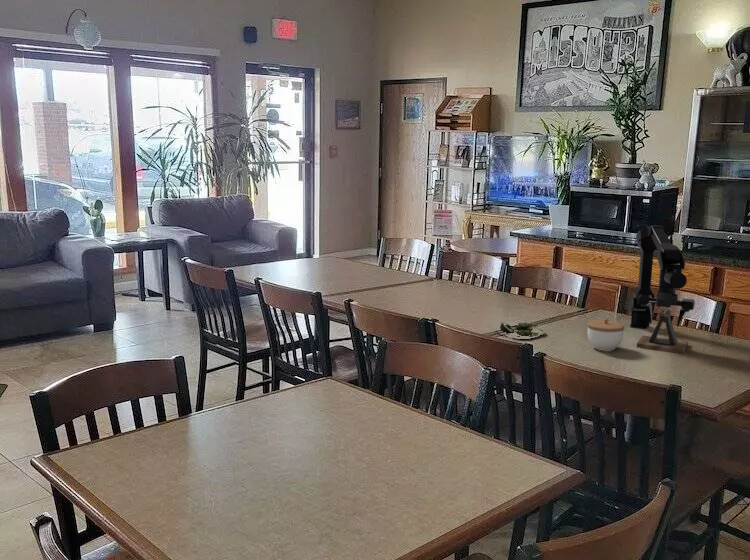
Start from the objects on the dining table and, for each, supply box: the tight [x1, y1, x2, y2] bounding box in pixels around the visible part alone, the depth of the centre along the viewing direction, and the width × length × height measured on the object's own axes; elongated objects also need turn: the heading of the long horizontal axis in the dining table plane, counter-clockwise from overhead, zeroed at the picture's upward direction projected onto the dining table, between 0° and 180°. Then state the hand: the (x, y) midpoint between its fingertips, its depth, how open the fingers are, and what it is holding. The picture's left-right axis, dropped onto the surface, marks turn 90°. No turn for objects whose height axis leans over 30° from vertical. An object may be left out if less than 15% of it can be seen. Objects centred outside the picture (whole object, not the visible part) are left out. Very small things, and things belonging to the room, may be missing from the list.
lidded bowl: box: [587, 318, 625, 352], centre depth 255 cm, size 13×13×11 cm
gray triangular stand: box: [649, 308, 678, 346], centre depth 257 cm, size 9×6×12 cm, turn 60°
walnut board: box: [636, 335, 689, 355], centre depth 258 cm, size 16×12×2 cm
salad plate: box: [500, 321, 546, 337], centre depth 276 cm, size 19×18×5 cm
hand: (664, 325), depth 257 cm, fingers open, 9 cm apart
